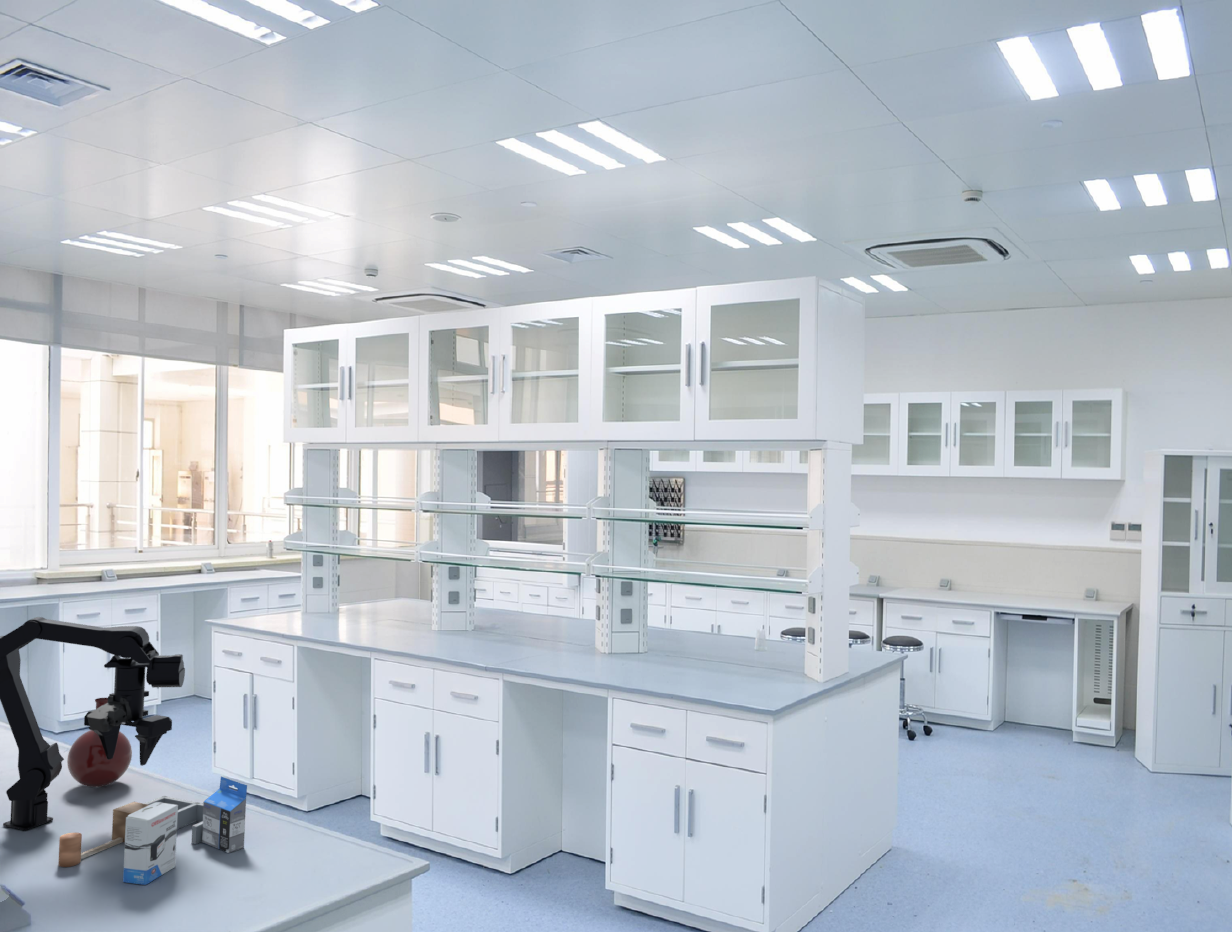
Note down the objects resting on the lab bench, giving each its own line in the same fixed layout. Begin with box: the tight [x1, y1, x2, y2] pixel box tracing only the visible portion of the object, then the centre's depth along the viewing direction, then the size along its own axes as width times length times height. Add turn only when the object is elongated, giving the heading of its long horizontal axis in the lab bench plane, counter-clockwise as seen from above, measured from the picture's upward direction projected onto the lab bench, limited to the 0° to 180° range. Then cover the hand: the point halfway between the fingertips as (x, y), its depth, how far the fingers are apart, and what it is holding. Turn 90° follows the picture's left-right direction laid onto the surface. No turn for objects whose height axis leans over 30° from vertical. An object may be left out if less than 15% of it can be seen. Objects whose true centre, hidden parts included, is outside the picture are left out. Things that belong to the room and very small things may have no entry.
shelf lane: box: [143, 795, 203, 845], centre depth 194 cm, size 19×10×4 cm, turn 70°
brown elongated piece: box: [58, 801, 148, 868], centre depth 182 cm, size 5×18×6 cm, turn 159°
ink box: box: [122, 802, 178, 886], centre depth 171 cm, size 8×5×12 cm, turn 168°
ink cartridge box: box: [201, 776, 248, 854], centre depth 186 cm, size 9×4×12 cm, turn 57°
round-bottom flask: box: [66, 697, 133, 788], centre depth 217 cm, size 13×13×20 cm
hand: (126, 761), depth 197 cm, fingers open, 9 cm apart
